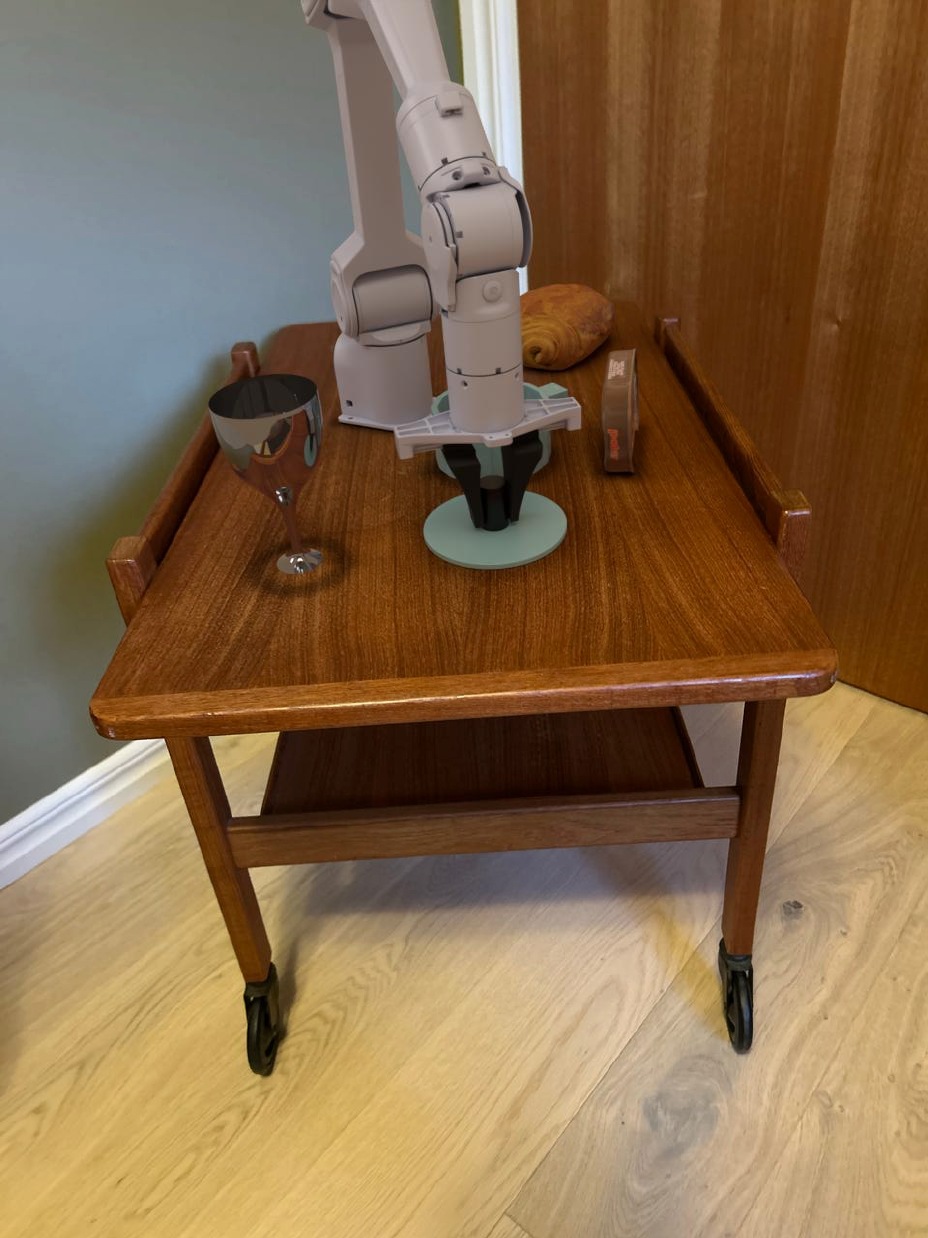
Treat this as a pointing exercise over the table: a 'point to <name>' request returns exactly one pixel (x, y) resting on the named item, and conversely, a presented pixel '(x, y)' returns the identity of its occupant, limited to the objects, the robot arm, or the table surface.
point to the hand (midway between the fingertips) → (494, 518)
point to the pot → (493, 456)
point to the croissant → (563, 325)
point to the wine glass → (273, 445)
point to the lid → (495, 529)
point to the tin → (620, 409)
